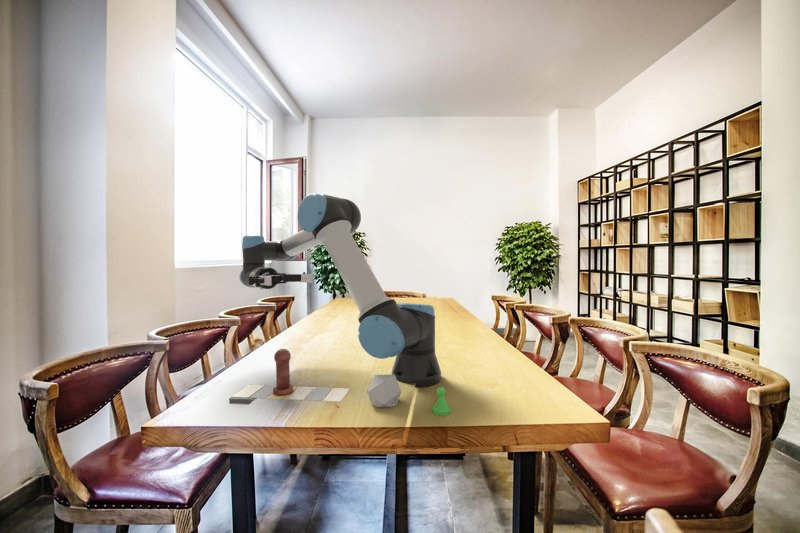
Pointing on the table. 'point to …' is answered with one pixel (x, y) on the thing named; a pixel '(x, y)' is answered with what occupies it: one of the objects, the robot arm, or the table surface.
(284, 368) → the pawn
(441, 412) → the game piece
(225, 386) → the table surface
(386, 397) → the die
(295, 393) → the board
